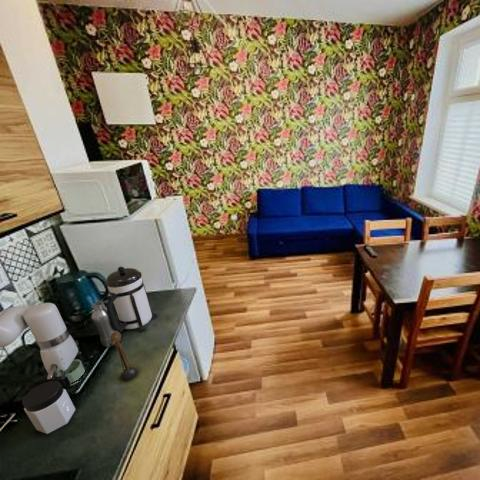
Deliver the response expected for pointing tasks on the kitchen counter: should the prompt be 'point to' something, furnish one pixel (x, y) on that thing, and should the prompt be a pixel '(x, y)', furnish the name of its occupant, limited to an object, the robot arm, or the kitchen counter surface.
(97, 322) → the plastic bottle
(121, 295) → the coffee press
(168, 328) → the kitchen counter surface
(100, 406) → the kitchen counter surface
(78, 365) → the green cup
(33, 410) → the jar
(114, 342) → the wooden tabletop sculpture
